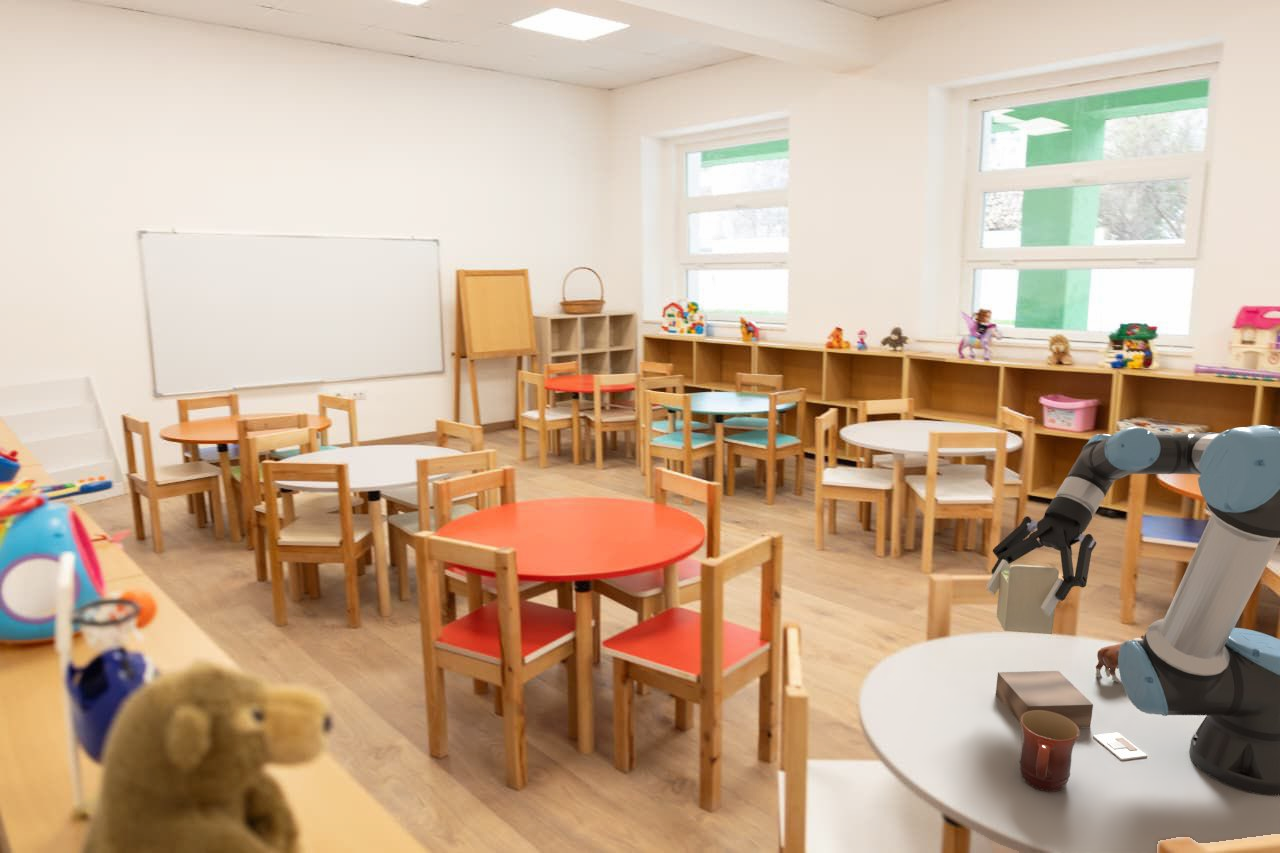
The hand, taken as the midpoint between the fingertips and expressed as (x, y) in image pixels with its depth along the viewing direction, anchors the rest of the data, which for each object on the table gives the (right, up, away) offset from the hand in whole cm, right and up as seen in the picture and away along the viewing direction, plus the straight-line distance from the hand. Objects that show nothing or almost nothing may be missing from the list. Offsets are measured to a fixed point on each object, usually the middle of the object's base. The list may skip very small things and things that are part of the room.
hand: (1016, 601), depth 158 cm
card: (+14, -24, -10) cm, 29 cm away
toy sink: (+3, -5, +3) cm, 7 cm away
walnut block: (+5, -21, +2) cm, 22 cm away
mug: (-5, -26, -20) cm, 33 cm away
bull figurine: (+28, -18, +14) cm, 36 cm away
